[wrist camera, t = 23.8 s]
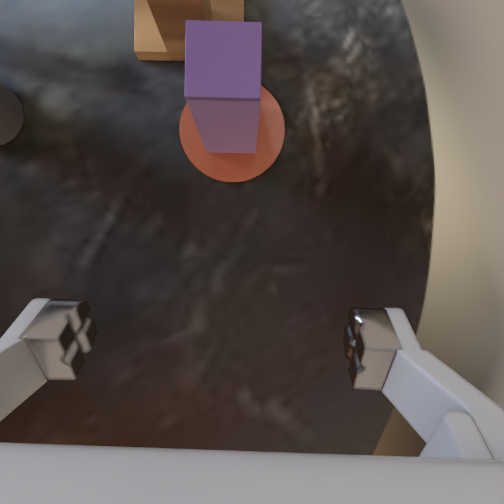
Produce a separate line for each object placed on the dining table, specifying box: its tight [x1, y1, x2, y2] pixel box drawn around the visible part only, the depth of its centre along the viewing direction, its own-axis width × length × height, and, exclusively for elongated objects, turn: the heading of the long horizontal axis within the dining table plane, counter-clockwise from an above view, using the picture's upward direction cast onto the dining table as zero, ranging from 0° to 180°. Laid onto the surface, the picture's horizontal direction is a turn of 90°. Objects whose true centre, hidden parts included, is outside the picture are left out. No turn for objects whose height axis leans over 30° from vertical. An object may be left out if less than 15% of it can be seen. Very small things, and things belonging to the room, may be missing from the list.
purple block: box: [185, 20, 262, 154], centre depth 27 cm, size 12×5×5 cm
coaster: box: [180, 86, 285, 183], centre depth 33 cm, size 10×10×1 cm
